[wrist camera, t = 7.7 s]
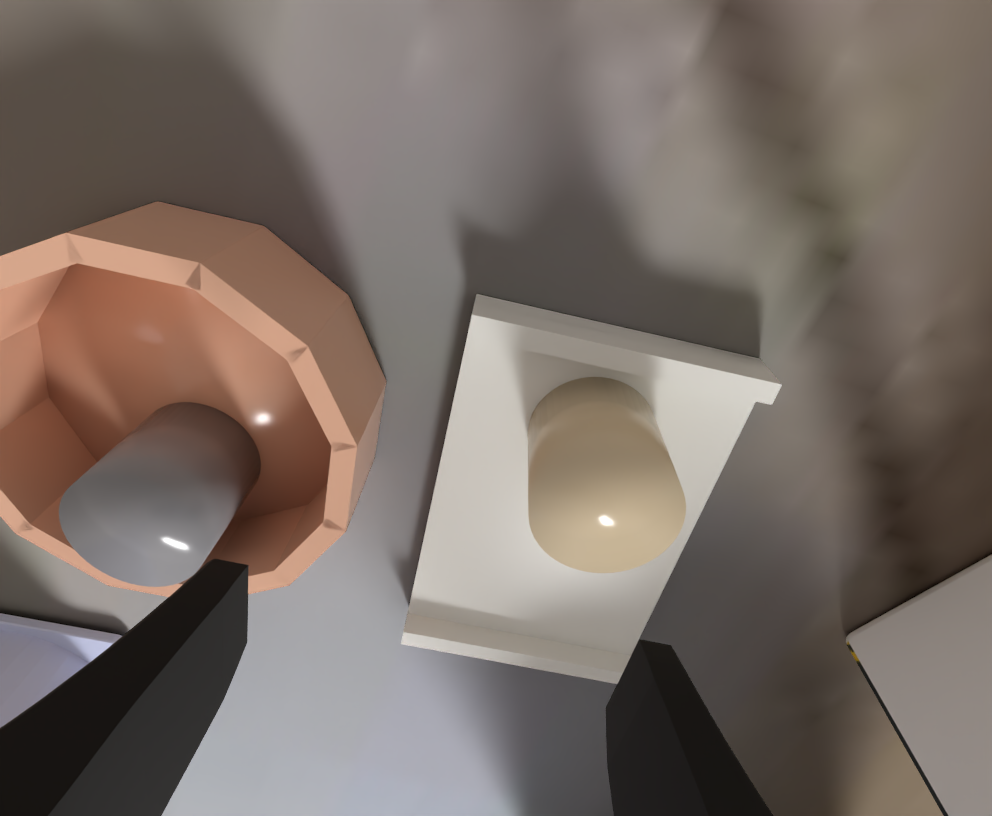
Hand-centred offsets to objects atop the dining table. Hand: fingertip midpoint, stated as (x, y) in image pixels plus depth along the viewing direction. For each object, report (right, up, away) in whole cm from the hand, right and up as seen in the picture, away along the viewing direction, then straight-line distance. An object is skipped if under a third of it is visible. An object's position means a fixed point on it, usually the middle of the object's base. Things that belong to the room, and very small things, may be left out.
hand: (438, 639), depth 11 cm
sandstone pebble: (+4, +4, +6) cm, 8 cm away
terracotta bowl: (-7, +5, +7) cm, 11 cm away
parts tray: (+3, +1, +8) cm, 9 cm away
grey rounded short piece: (-8, +3, +7) cm, 11 cm away
